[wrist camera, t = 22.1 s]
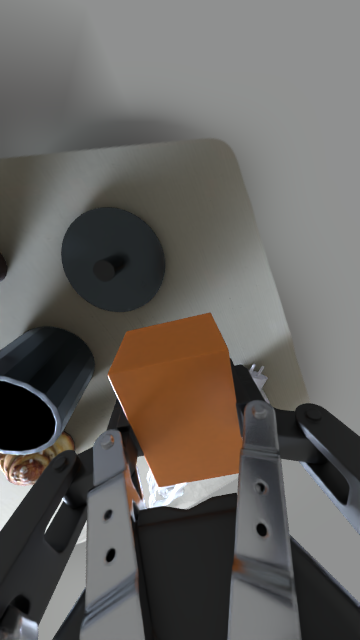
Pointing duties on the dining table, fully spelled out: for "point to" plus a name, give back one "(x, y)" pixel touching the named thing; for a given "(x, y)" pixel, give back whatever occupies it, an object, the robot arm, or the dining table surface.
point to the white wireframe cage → (163, 492)
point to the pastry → (33, 462)
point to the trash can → (40, 387)
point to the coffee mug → (2, 267)
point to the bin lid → (113, 259)
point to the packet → (180, 399)
